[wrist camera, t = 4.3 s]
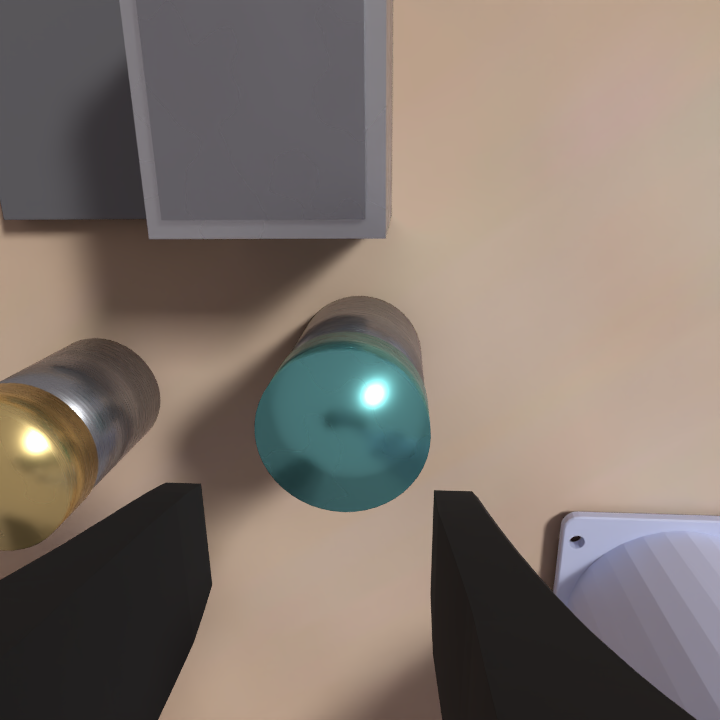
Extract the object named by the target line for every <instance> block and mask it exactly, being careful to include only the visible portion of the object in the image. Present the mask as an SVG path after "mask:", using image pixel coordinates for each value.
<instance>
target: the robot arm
mask: <svg viewBox="0 0 720 720" xmlns="http://www.w3.org/2000/svg"><path fill="white" fill-rule="evenodd" d="M574 536H581V538H580V539H579V540H578V541H575V542H572V541H570V539H571V538H572V537H574ZM211 587H212V579H211V570H210V561H209V552H208V543H207V534H206V525H205V516H204V507H203V498H202V489H201V484H191V483H164V484H162V485H160V486H158V487H156V488H155V489H153V490H151V491H149V492H147V493H146V494H144V495H142V496H141V497H139V498H137V499H136V500H134V501H132V502H131V503H129V504H127V505H126V506H124V507H123V508H121V509H119V510H118V511H116V512H115V513H113V514H111V515H110V516H108V517H107V518H105V519H103V520H102V521H100V522H98V523H97V524H95V525H94V526H92V527H90V528H89V529H87V530H85V531H84V532H82V533H81V534H79V535H77V536H76V537H74V538H72V539H71V540H69V541H68V542H66V543H64V544H63V545H61V546H59V547H58V548H56V549H54V550H52V551H51V552H49V553H47V554H45V555H44V556H42V557H40V558H38V559H36V560H35V561H33V562H31V563H29V564H28V565H26V566H24V567H22V568H21V569H19V570H17V571H15V572H14V573H12V574H10V575H8V576H7V577H5V578H3V579H1V580H0V720H158V719H159V717H160V714H161V712H162V710H163V708H164V706H165V704H166V702H167V700H168V697H169V695H170V693H171V691H172V689H173V687H174V684H175V682H176V680H177V678H178V676H179V674H180V671H181V669H182V667H183V665H184V663H185V661H186V658H187V656H188V654H189V652H190V649H191V647H192V645H193V643H194V640H195V637H196V634H197V631H198V628H199V625H200V622H201V619H202V616H203V613H204V610H205V606H206V603H207V600H208V597H209V593H210V590H211ZM431 618H432V642H433V657H434V664H435V671H436V678H437V686H438V693H439V700H440V706H441V713H442V720H720V516H705V515H672V514H639V513H607V512H571V513H569V514H567V515H566V516H565V517H564V518H563V520H562V523H561V529H560V538H559V546H558V555H557V564H556V572H555V581H554V589H553V591H552V590H551V589H550V588H549V587H548V586H547V585H546V584H545V583H544V582H543V580H542V579H541V578H540V577H539V576H538V575H537V573H536V572H535V571H534V570H533V569H532V568H531V566H530V565H529V564H528V563H527V562H526V560H525V559H524V558H523V557H522V556H521V555H520V553H519V552H518V551H517V550H516V548H515V547H514V546H513V545H512V543H511V542H510V541H509V540H508V538H507V537H506V536H505V534H504V533H503V532H502V531H501V529H500V528H499V527H498V525H497V524H496V523H495V521H494V520H493V519H492V517H491V516H490V514H489V513H488V512H487V510H486V509H485V507H484V506H483V504H482V503H481V501H480V500H479V499H478V497H477V496H476V495H475V494H474V493H473V492H472V491H437V490H434V508H433V538H432V567H431Z"/></svg>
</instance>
